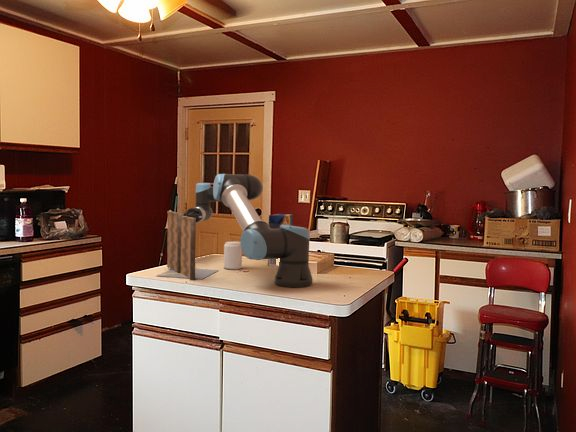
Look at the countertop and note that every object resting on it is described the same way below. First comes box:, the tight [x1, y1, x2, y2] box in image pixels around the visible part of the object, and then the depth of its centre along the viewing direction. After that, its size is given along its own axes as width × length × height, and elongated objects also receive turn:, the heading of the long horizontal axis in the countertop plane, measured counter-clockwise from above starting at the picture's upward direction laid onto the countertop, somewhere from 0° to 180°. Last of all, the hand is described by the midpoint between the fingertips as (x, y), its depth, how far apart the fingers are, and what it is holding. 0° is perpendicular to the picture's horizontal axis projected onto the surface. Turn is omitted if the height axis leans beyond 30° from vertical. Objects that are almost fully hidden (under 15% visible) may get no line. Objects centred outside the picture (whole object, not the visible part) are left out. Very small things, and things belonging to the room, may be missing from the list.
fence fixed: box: [177, 212, 197, 281], centre depth 215 cm, size 16×2×26 cm, turn 33°
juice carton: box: [267, 213, 294, 267], centre depth 250 cm, size 12×8×24 cm, turn 158°
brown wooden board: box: [166, 210, 179, 271], centre depth 227 cm, size 12×1×25 cm, turn 33°
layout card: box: [156, 268, 219, 280], centre depth 223 cm, size 20×20×1 cm
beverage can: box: [223, 241, 243, 271], centre depth 237 cm, size 8×8×12 cm
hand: (175, 218), depth 234 cm, fingers closed
